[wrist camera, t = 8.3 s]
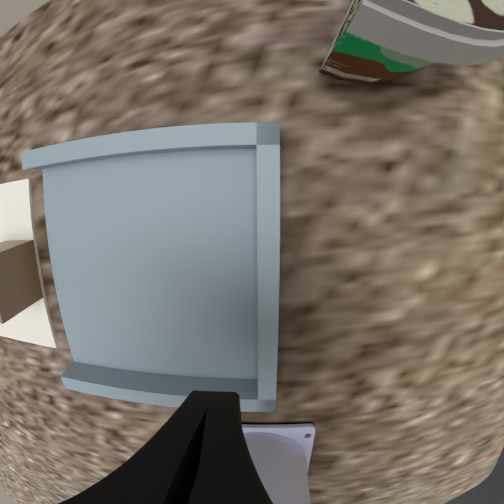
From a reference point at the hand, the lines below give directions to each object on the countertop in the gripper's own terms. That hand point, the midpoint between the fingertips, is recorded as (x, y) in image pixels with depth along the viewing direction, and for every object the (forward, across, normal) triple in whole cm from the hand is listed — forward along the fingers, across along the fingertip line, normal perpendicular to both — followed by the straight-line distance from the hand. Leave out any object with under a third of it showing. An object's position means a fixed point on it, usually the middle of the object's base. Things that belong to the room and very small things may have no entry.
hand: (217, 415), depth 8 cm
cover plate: (+10, +18, -2) cm, 21 cm away
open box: (+9, +5, -2) cm, 11 cm away
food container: (+10, -9, -15) cm, 20 cm away
